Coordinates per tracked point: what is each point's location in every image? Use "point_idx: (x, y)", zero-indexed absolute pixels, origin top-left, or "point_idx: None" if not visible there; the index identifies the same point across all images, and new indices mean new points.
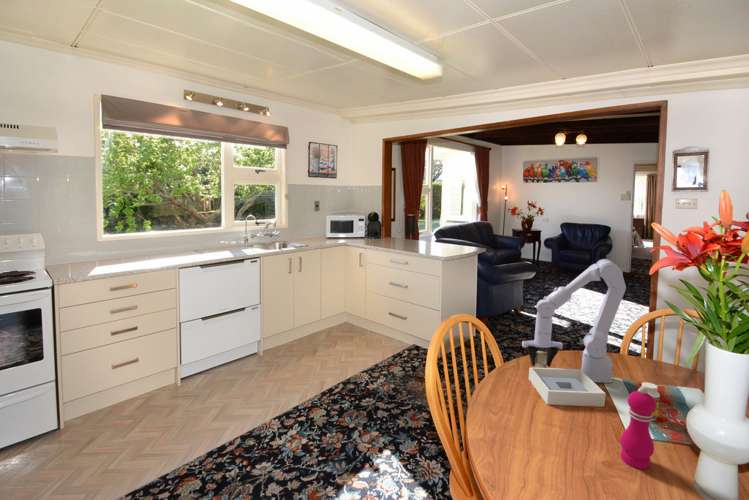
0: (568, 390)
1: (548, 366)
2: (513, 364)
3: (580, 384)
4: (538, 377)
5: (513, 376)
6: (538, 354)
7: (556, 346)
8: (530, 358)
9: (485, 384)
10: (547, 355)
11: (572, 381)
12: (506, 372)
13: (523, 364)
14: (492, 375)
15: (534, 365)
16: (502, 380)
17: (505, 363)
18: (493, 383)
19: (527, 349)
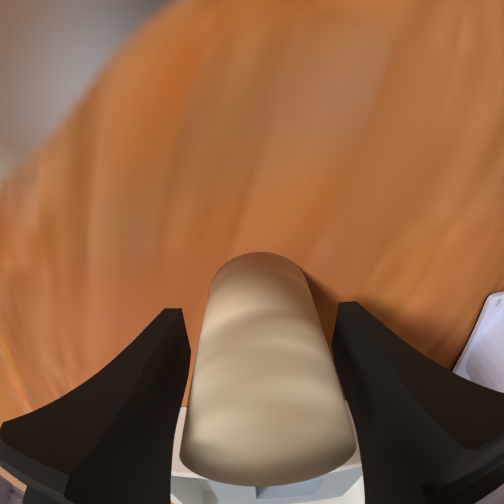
0: (278, 499)
1: (332, 347)
2: (47, 199)
3: (356, 476)
4: (175, 500)
5: (72, 374)
6: (208, 474)
7: (489, 498)
8: (134, 347)
9: (18, 401)
10: (383, 377)
11: (340, 473)
12: (33, 333)
13: (124, 178)
14: (3, 354)
15: (188, 359)
16: (46, 394)
17: (5, 193)
18: (32, 403)
19: (39, 414)
